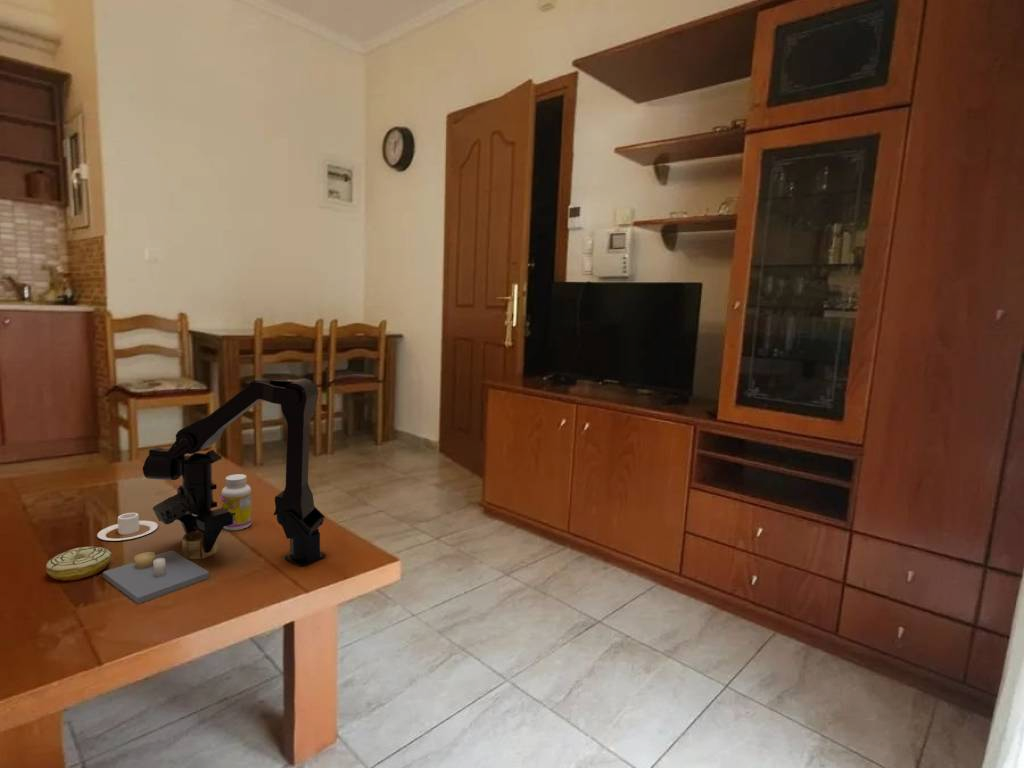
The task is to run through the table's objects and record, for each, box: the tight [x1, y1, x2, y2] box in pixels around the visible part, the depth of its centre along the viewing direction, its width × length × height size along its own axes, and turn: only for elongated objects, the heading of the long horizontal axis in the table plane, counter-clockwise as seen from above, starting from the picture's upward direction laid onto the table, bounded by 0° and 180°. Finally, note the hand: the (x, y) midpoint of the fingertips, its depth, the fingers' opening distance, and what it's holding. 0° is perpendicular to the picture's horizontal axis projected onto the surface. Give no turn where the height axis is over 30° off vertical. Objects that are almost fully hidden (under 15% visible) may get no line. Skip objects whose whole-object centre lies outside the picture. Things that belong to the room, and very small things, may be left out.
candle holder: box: [96, 512, 159, 542], centre depth 133 cm, size 12×12×4 cm
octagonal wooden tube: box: [181, 530, 218, 560], centre depth 123 cm, size 6×6×4 cm
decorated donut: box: [45, 546, 112, 582], centre depth 114 cm, size 10×11×4 cm
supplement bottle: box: [221, 473, 253, 531], centre depth 138 cm, size 7×7×13 cm
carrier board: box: [102, 550, 211, 605], centre depth 112 cm, size 16×13×4 cm
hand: (200, 548), depth 124 cm, fingers closed on octagonal wooden tube, 6 cm apart
